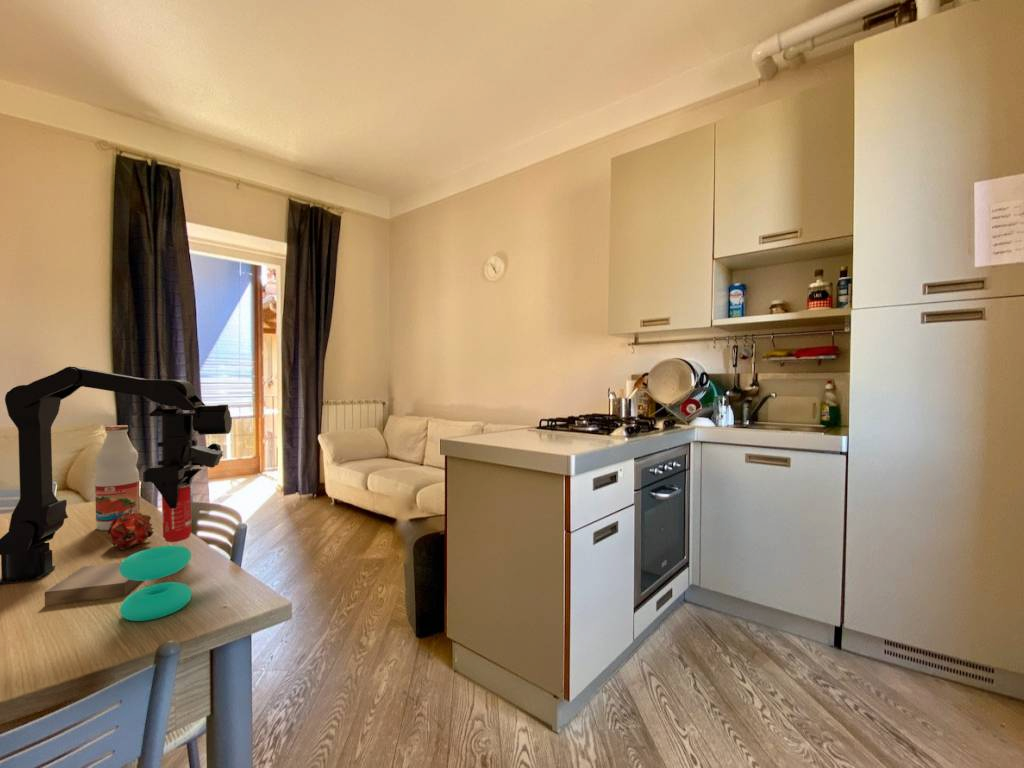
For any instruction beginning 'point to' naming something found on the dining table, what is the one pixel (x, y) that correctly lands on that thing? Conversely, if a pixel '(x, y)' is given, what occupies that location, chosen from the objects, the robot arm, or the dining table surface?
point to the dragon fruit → (130, 530)
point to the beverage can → (178, 516)
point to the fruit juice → (116, 478)
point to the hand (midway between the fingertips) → (178, 505)
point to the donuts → (157, 596)
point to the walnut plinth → (90, 585)
